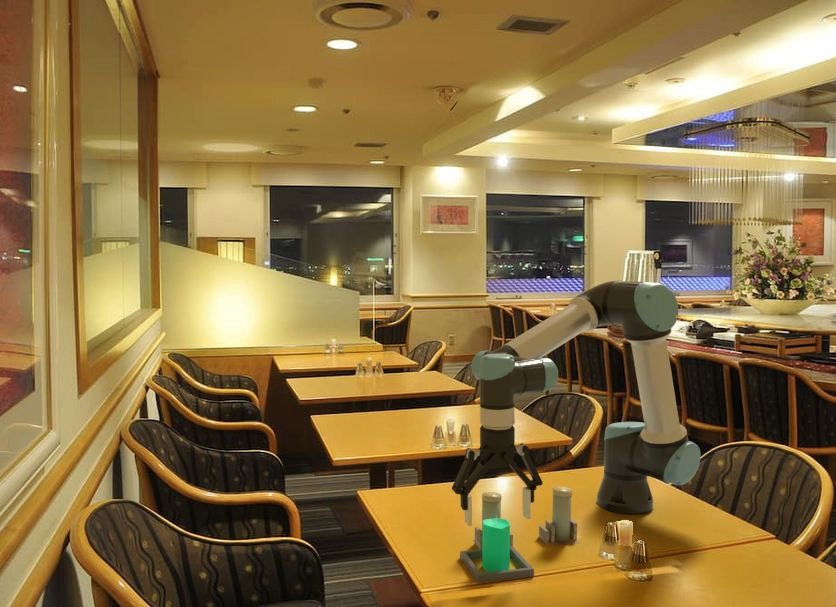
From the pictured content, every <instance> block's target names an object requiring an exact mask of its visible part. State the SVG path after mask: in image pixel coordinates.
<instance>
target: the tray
mask: <svg viewBox="0 0 836 607" xmlns="http://www.w3.org/2000/svg"><path fill="white" fill-rule="evenodd" d="M510 557H511V559H513V560H514V562H516V564H517V565H518V566H519V567H520V568H514V569H509V570H503V571H494V572H488V571H486V572H481V570H479V568H478V567H477V566H476V565H475V563H474V562H473V560H474V559H476V560H477V559H482V549H479V548H478V549H469V550H461V551H459V559H460V560H461V562H462V564H463V565H464V566H465V567H466V569H467V570H468V571H469V573H470V574H471V575H472V577H473V578H474V580H475V581H476V582H477V584H482V583H490V582H491V583H492V582H499V581H508V580H517V579H523V578H524V579H525V578H533V577H535V569H534V568H533V566H532V565H531V564H530V563H529V562H528V561H527V560H526V559H525V558H524V556H522V555H521V554H520V553H519V552H518V550H517V549H516V548H514V545H513V546H510ZM526 583H529V582H526ZM520 584H521V583H518V585H520ZM509 585H510V586H512V584H511V583H510V584H509ZM501 586H504V584H503V585H501ZM492 587H495V586H493V585H492ZM484 588H487V586H486V587H484Z"/></svg>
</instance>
